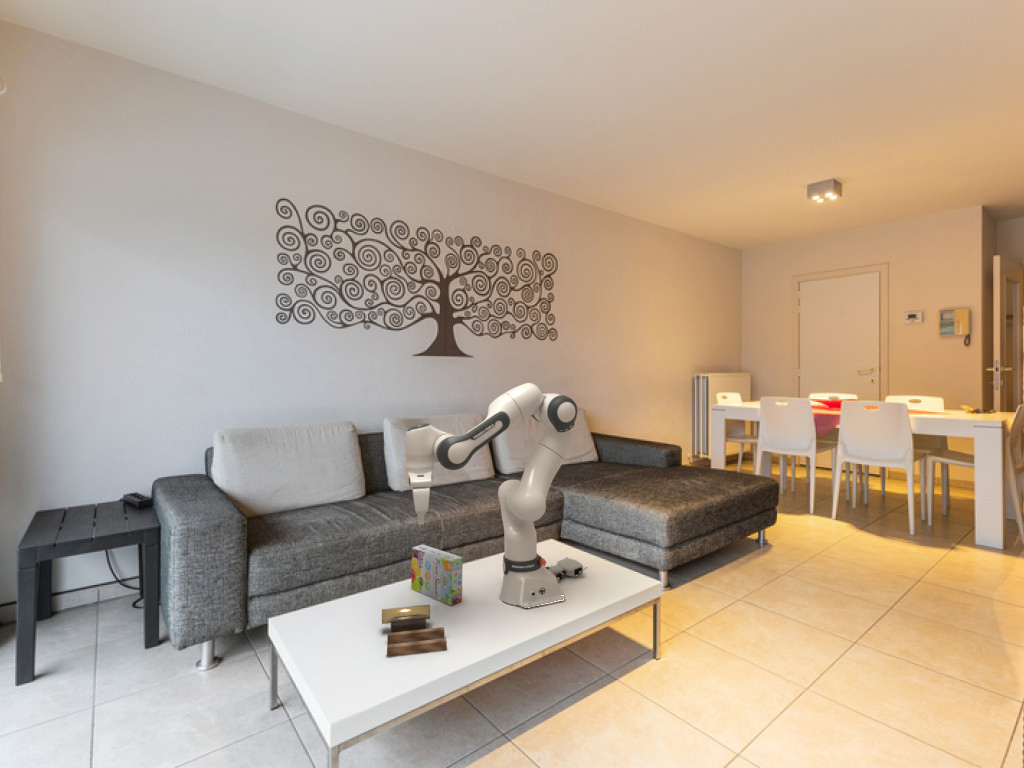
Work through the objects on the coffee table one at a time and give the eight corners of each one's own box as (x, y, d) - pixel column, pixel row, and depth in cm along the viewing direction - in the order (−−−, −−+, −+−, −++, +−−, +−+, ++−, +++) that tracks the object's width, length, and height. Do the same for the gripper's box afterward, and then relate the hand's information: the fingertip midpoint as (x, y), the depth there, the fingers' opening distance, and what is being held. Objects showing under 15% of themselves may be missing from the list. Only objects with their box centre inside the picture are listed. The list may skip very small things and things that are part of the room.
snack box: (463, 601, 170) (463, 556, 170) (451, 607, 166) (451, 561, 166) (422, 584, 184) (422, 543, 184) (410, 589, 180) (410, 547, 180)
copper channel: (443, 635, 148) (443, 627, 148) (446, 650, 140) (446, 641, 140) (387, 641, 144) (387, 633, 144) (387, 657, 136) (387, 648, 136)
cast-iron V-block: (424, 621, 156) (424, 605, 156) (426, 634, 149) (426, 617, 149) (391, 624, 154) (391, 608, 154) (391, 637, 146) (391, 620, 146)
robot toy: (557, 588, 183) (589, 576, 191) (556, 576, 183) (588, 564, 191) (538, 576, 194) (568, 566, 201) (537, 565, 193) (568, 555, 201)
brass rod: (429, 614, 155) (429, 602, 155) (430, 621, 151) (430, 608, 151) (382, 619, 152) (382, 606, 151) (381, 626, 148) (381, 613, 148)
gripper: (408, 470, 168) (409, 511, 169) (410, 483, 149) (411, 530, 149) (427, 469, 170) (428, 510, 170) (432, 482, 150) (432, 528, 150)
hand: (420, 519), depth 159 cm, fingers open, 8 cm apart
